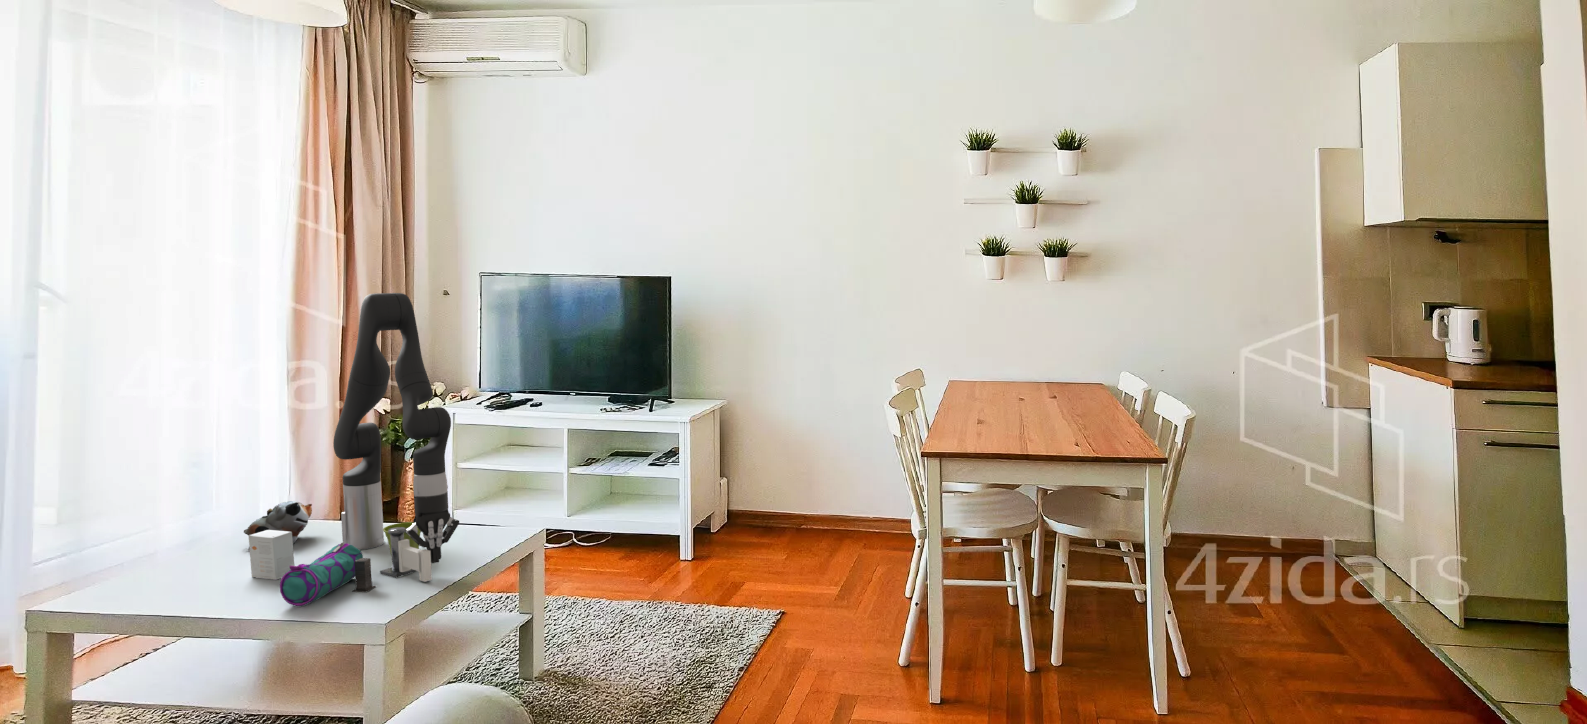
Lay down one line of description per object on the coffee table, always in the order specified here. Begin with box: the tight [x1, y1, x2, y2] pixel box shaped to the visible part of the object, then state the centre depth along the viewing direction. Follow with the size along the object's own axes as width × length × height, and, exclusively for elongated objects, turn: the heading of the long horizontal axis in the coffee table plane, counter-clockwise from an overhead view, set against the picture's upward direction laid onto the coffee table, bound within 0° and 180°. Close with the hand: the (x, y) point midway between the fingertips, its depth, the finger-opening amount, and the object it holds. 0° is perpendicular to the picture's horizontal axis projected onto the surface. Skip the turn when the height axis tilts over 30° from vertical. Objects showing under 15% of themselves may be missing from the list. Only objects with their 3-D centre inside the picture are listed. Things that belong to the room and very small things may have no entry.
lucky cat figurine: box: [243, 500, 313, 544], centre depth 249 cm, size 15×12×14 cm
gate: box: [398, 539, 433, 583], centre depth 215 cm, size 11×2×8 cm, turn 52°
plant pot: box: [383, 521, 422, 553], centre depth 230 cm, size 9×9×9 cm
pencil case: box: [279, 542, 364, 608], centre depth 206 cm, size 21×9×10 cm, turn 179°
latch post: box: [351, 557, 377, 593], centre depth 208 cm, size 4×4×7 cm
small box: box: [248, 530, 296, 581], centre depth 219 cm, size 8×6×10 cm
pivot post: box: [379, 527, 417, 579], centre depth 220 cm, size 6×6×11 cm
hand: (434, 562), depth 217 cm, fingers closed
